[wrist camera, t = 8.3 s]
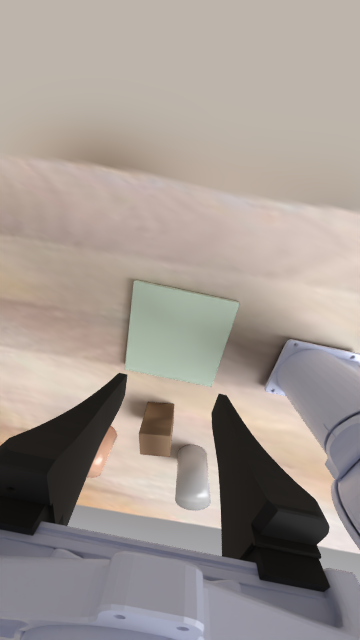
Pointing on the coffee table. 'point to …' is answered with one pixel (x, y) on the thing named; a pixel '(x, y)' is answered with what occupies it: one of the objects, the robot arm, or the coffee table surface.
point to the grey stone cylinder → (192, 478)
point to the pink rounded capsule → (102, 453)
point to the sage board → (177, 332)
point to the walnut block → (157, 429)
